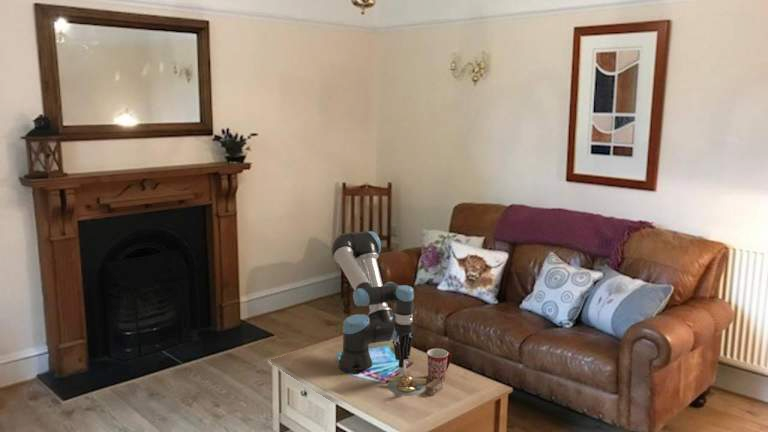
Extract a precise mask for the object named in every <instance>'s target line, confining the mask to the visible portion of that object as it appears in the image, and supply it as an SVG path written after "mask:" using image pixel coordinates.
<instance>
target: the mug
mask: <svg viewBox="0 0 768 432" xmlns="http://www.w3.org/2000/svg"><path fill="white" fill-rule="evenodd" d="M426 354H427V374H428V375H427V378H428V380H429V381H430V382H432V381H434V380H435V379H438V380H441V381H442V383H443V382H444V381H445V380H446V375H447V370H448V368H449V367H450V364H451V360H452V354H451V353H450V352H448V351H447V350H446V349H443V348H432V349H428V350H427V352H426Z"/></svg>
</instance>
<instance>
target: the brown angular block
mask: <svg viewBox="0 0 768 432" xmlns="http://www.w3.org/2000/svg"><path fill="white" fill-rule="evenodd" d="M425 386H426V389H425V395H428V396H431V397H432V396H433V395H435V394H436V393H438V392H440V391H441V390H443V382H442V381H441V380H438V379H435V380H434V381H430V382H429V383H428V384H425Z"/></svg>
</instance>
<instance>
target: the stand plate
mask: <svg viewBox="0 0 768 432" xmlns="http://www.w3.org/2000/svg"><path fill="white" fill-rule="evenodd" d="M398 383H400V382H395V381H389V383H388V384H387V388H388V390H389V391H390V392H392V393H393V394H396V395H399V396H404V397H405V396H408V397H409V396H411V397H412V396H418V395H420V394H423V393H424V392H426V384H419V383H414V384H415V385H416V390H415V391H413V392H410V393H405V392H401V391H399V390H398V389H397V384H398Z"/></svg>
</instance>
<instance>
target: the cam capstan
mask: <svg viewBox="0 0 768 432" xmlns="http://www.w3.org/2000/svg"><path fill="white" fill-rule="evenodd" d="M387 381H388V382H391V381H395V382H400V383H398V384H397V389H398V390H399V391H401V392H405V393H410V392H413V391H415V390H416V385H415V384H414V383H419V384H425V385H427V378H420V377H413V376H412V369H406V374H404V375H403V374H402V375H401V376H396V375H388V377H387Z"/></svg>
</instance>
